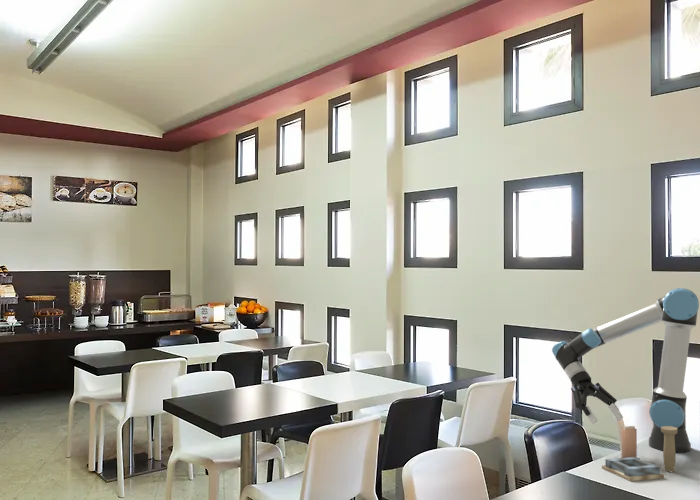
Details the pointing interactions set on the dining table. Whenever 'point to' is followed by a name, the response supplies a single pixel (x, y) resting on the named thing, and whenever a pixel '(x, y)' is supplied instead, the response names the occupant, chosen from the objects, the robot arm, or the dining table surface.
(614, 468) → the square frame tray
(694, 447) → the dining table surface
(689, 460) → the dining table surface
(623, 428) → the copper orange rectangular block
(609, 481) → the dining table surface
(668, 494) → the dining table surface
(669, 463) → the handle
